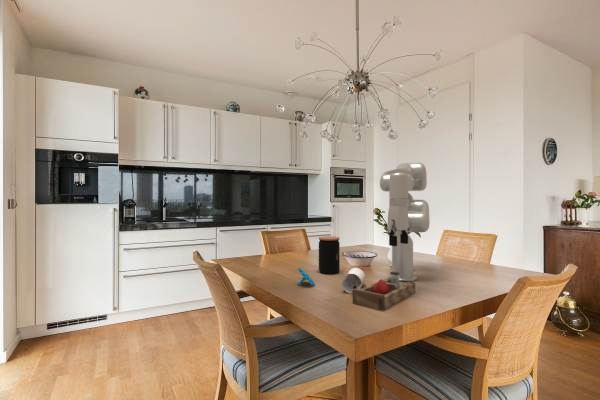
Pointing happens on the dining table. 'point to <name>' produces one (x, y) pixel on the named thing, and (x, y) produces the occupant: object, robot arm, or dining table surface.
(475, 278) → the dining table surface
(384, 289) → the pomegranate
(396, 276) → the grey angular piece
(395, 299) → the guide
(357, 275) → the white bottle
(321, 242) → the coffee jar
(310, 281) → the gear
